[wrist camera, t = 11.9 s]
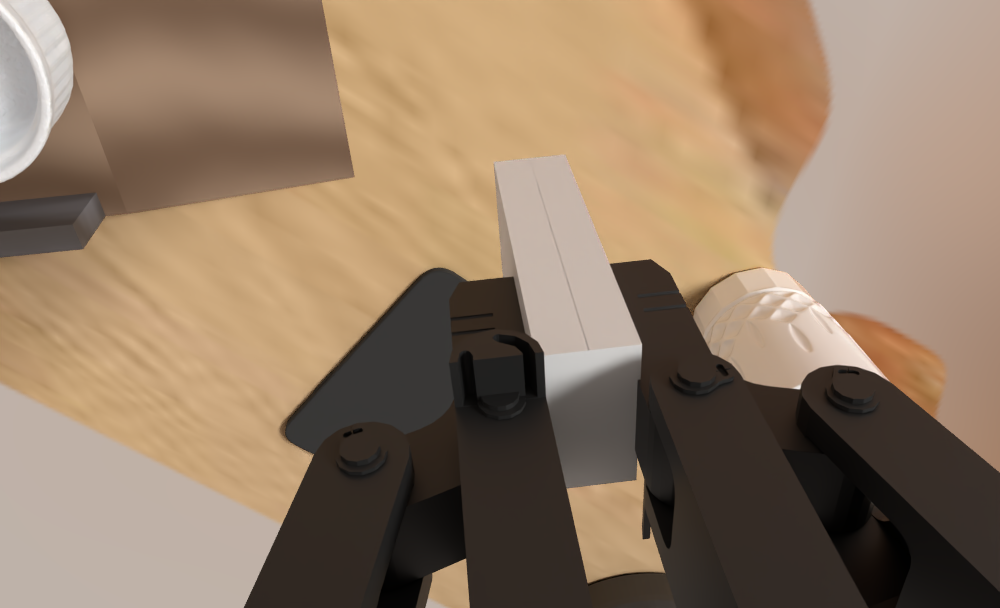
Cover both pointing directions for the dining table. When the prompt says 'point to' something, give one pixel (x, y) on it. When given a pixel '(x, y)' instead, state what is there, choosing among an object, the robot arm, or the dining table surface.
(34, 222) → the dock
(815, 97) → the dining table surface
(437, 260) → the dining table surface
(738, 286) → the white cup
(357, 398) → the phone
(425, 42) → the dining table surface
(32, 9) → the ramekin
